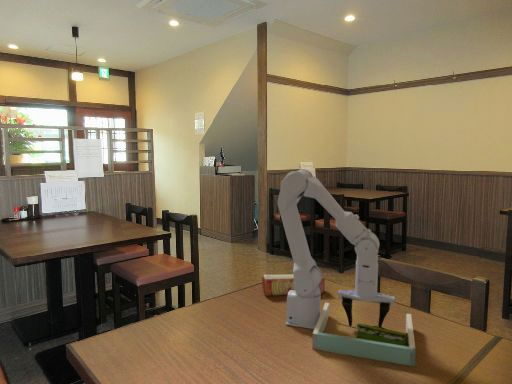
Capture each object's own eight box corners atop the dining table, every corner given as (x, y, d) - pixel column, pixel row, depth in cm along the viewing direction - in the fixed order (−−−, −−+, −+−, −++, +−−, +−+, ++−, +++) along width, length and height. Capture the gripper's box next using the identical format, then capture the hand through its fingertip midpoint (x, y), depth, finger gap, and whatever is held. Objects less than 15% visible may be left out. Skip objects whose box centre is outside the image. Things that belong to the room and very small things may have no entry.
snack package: (320, 288, 135) (320, 270, 134) (325, 295, 128) (325, 276, 127) (261, 290, 133) (261, 272, 132) (263, 298, 126) (263, 279, 125)
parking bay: (312, 348, 94) (312, 333, 94) (325, 315, 113) (325, 302, 112) (414, 366, 87) (415, 350, 86) (410, 327, 105) (411, 314, 104)
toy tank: (406, 341, 88) (412, 316, 96) (328, 323, 97) (340, 301, 105) (406, 365, 90) (412, 339, 98) (330, 345, 99) (341, 323, 107)
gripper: (394, 276, 102) (392, 324, 104) (340, 271, 107) (339, 316, 109) (395, 285, 95) (393, 336, 97) (337, 279, 100) (336, 327, 102)
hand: (364, 326), depth 102 cm, fingers open, 7 cm apart
